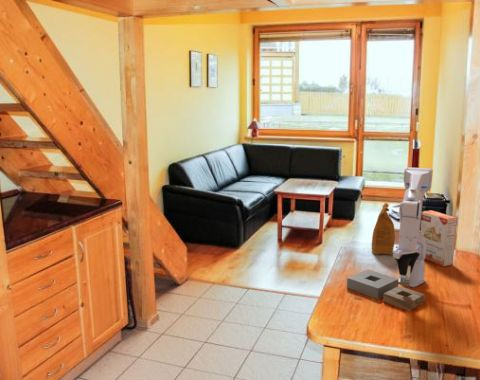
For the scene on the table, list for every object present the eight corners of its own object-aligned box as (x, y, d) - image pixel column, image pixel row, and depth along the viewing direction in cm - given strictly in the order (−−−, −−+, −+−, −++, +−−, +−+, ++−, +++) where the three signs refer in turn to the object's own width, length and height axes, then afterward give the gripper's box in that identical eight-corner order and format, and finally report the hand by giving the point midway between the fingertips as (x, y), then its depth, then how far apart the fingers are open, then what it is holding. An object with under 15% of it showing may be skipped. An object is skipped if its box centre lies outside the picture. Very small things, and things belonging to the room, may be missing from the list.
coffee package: (394, 248, 228) (397, 202, 224) (393, 257, 216) (396, 208, 212) (372, 246, 231) (374, 201, 227) (370, 254, 220) (373, 207, 215)
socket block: (398, 293, 178) (398, 285, 177) (424, 302, 170) (424, 294, 170) (382, 301, 171) (383, 293, 171) (409, 310, 164) (409, 302, 163)
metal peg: (403, 282, 172) (404, 263, 170) (411, 284, 169) (412, 265, 168) (398, 284, 170) (399, 265, 168) (406, 286, 167) (407, 267, 166)
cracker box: (417, 257, 217) (421, 211, 212) (428, 255, 219) (431, 209, 215) (442, 267, 204) (447, 218, 200) (453, 265, 207) (457, 217, 202)
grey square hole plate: (367, 279, 192) (367, 269, 191) (397, 289, 182) (398, 278, 181) (346, 288, 183) (347, 277, 182) (377, 299, 173) (378, 288, 172)
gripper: (408, 229, 174) (406, 265, 176) (385, 237, 164) (383, 275, 167) (427, 233, 169) (424, 270, 171) (405, 242, 159) (402, 281, 162)
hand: (405, 273), depth 169 cm, fingers closed on metal peg, 3 cm apart
